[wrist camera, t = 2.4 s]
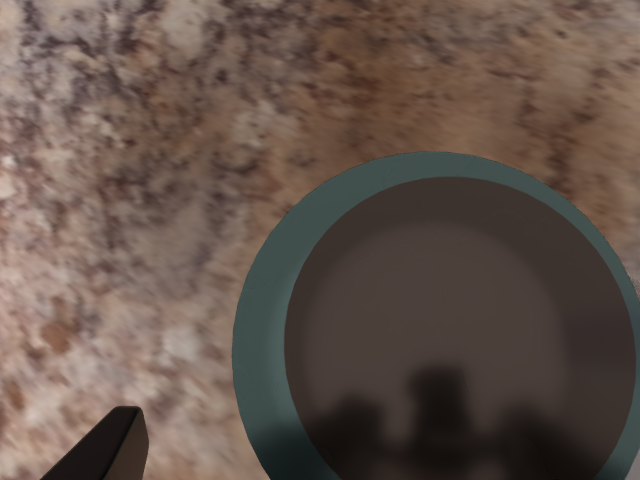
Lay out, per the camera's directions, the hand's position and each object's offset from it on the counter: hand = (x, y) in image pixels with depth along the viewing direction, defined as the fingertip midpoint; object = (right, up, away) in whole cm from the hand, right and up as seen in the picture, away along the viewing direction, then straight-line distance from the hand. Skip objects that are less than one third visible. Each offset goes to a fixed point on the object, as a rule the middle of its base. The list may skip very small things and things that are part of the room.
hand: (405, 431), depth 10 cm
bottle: (0, -1, +9) cm, 9 cm away
